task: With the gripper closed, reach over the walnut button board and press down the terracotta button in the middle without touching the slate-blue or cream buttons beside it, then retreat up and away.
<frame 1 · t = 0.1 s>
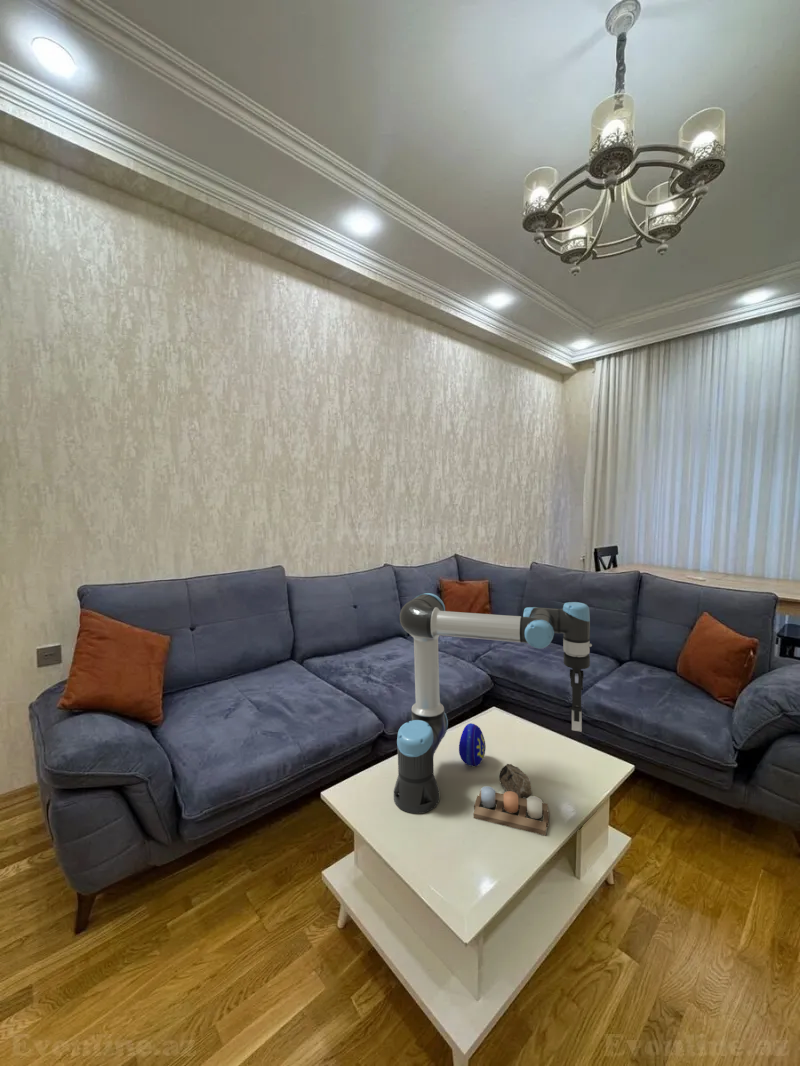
hand: (576, 719, 134), 28 cm above the table, fingers open, 13 cm apart
stone: (514, 791, 143), on the table
button slate: (488, 796, 135), point 4 cm above the table, slide at 0.0 cm
button cream: (534, 807, 130), point 4 cm above the table, slide at 0.0 cm
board: (511, 813, 133), on the table
ornament: (472, 763, 159), on the table
button terracotta: (510, 802, 133), point 4 cm above the table, slide at 0.0 cm
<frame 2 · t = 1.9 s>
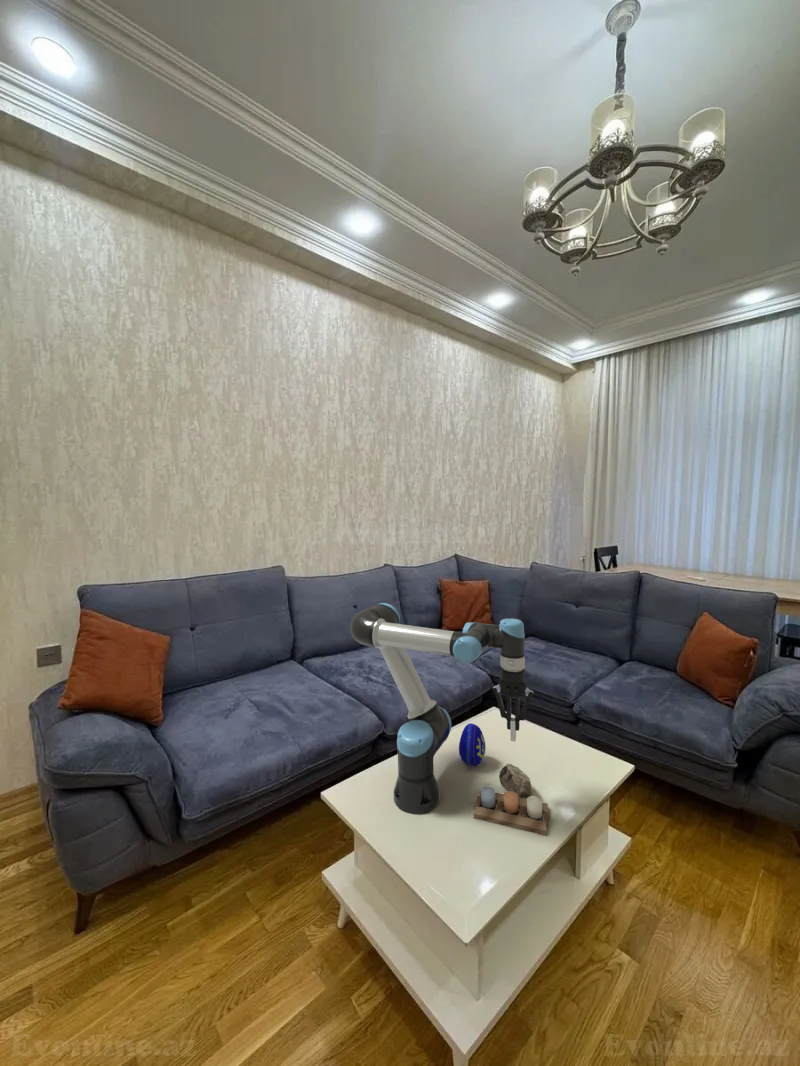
hand: (513, 739, 139), 20 cm above the table, fingers closed
nothing on the table moved.
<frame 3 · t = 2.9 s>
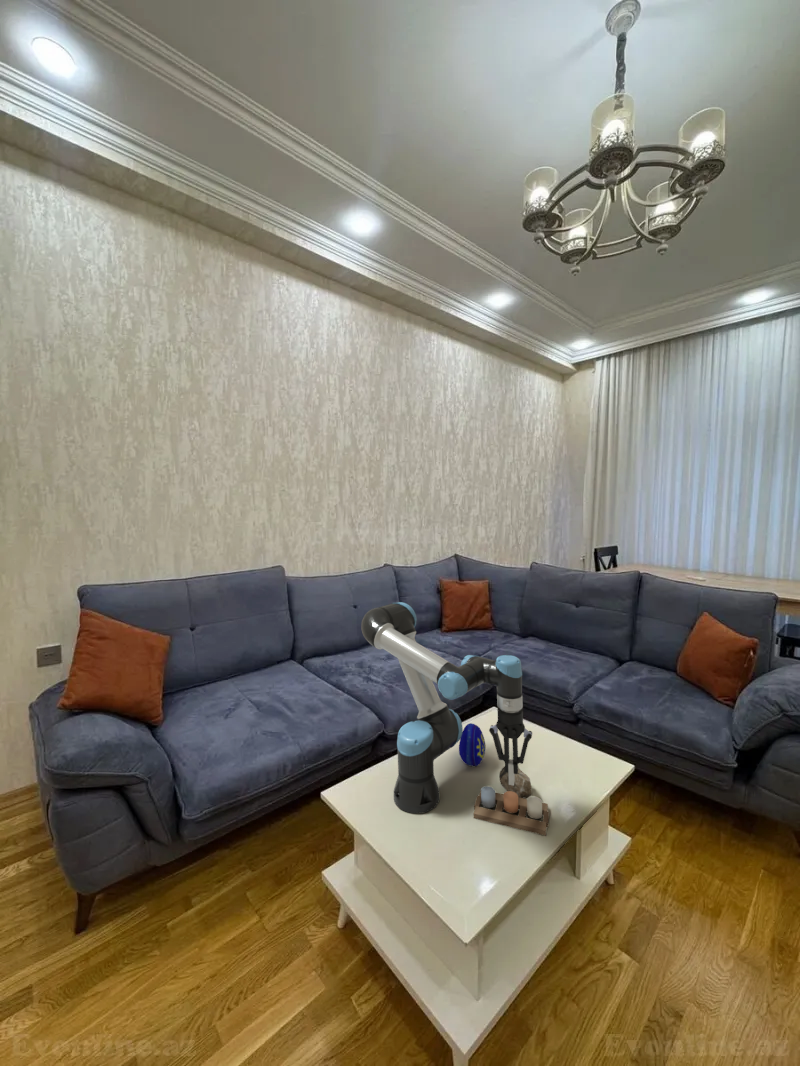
hand: (511, 782, 132), 10 cm above the table, fingers closed
nothing on the table moved.
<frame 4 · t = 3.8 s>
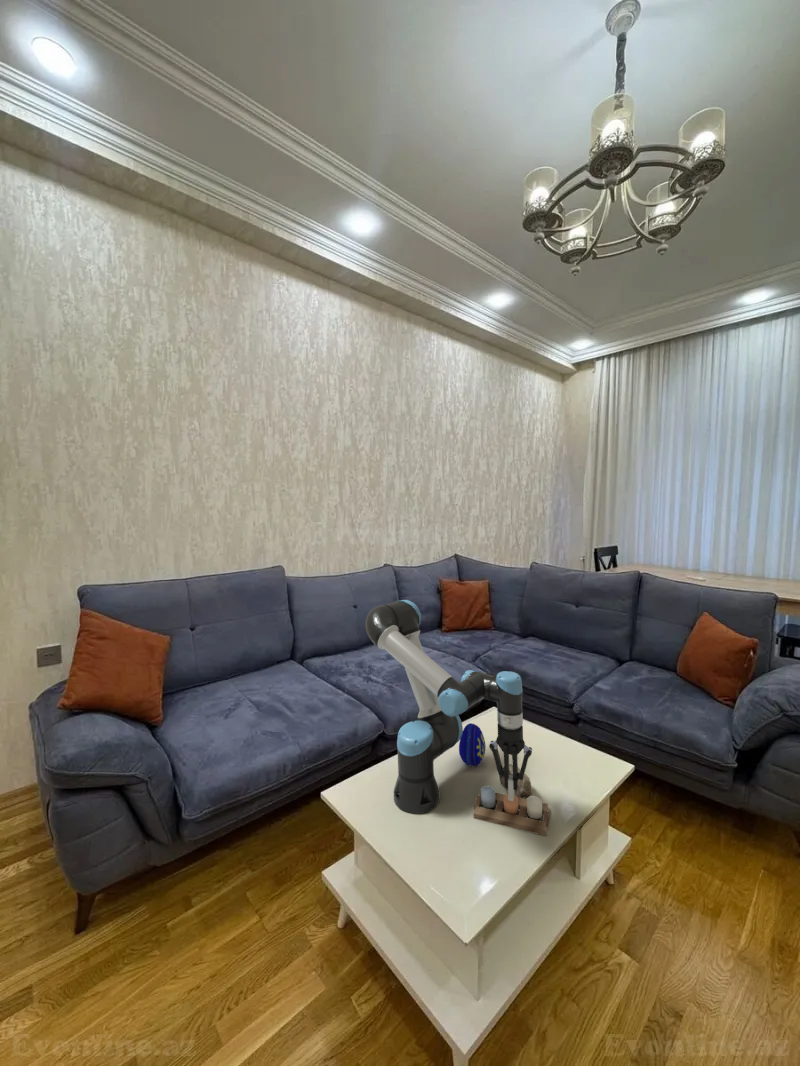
hand: (511, 798, 132), 5 cm above the table, fingers closed
button terracotta: (510, 804, 133), point 3 cm above the table, slide at 0.9 cm, touching gripper
everything else where it was.
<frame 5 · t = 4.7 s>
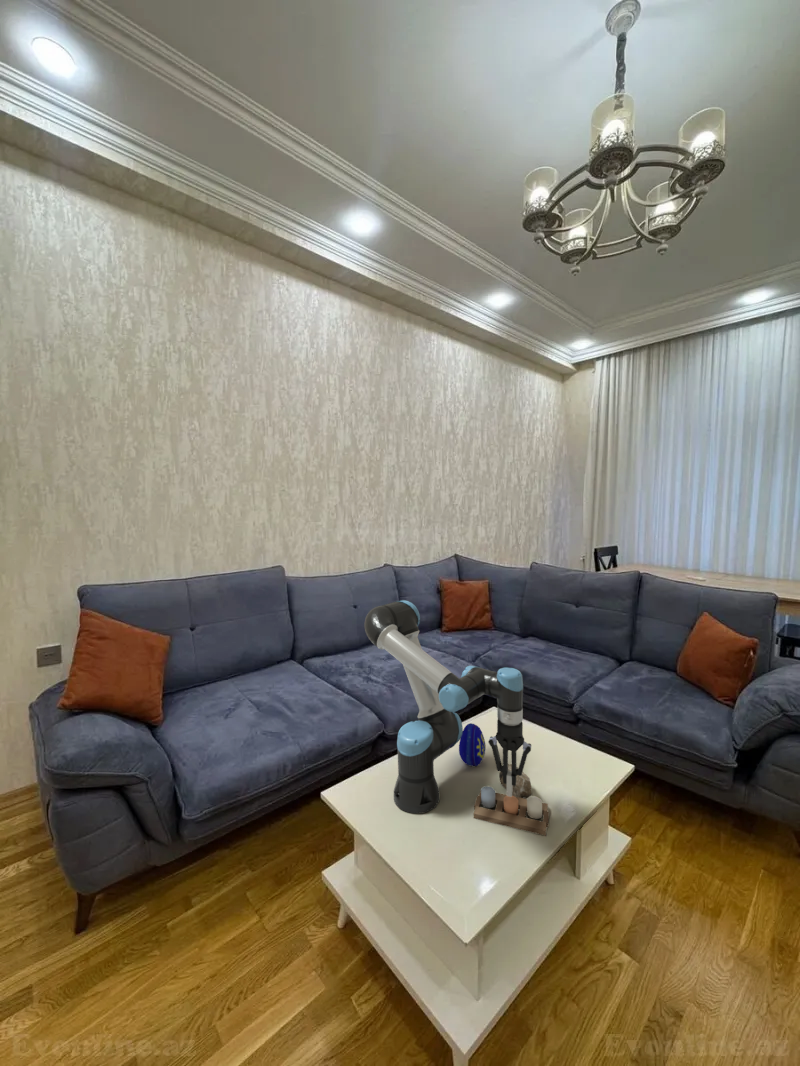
hand: (509, 793, 133), 6 cm above the table, fingers closed
button terracotta: (510, 806, 133), point 2 cm above the table, slide at 1.4 cm
everything else where it was.
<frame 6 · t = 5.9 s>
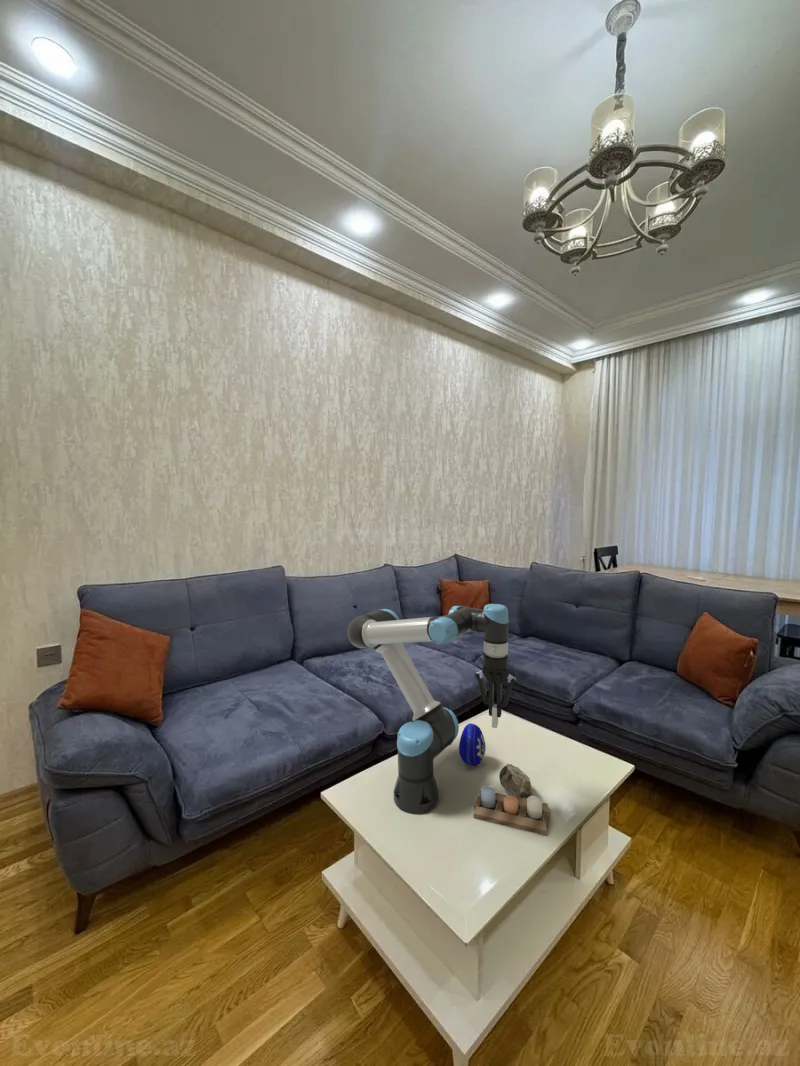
hand: (495, 725, 137), 25 cm above the table, fingers closed
nothing on the table moved.
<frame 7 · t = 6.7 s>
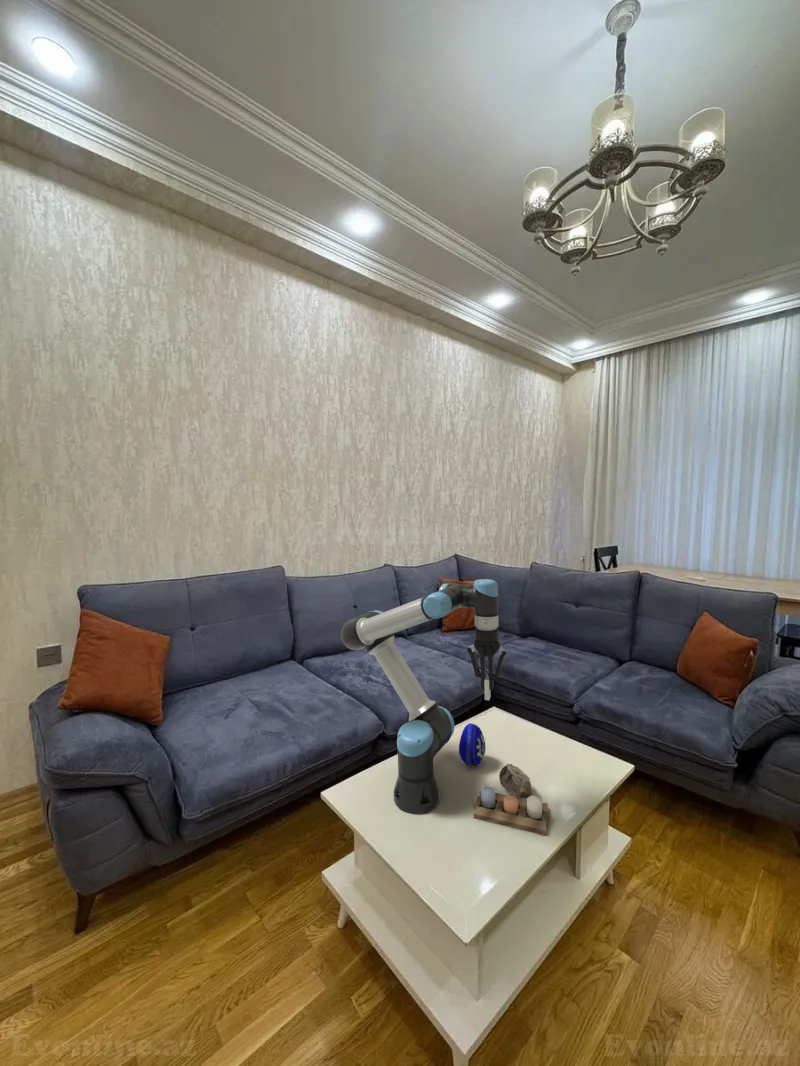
hand: (487, 698, 140), 32 cm above the table, fingers closed
nothing on the table moved.
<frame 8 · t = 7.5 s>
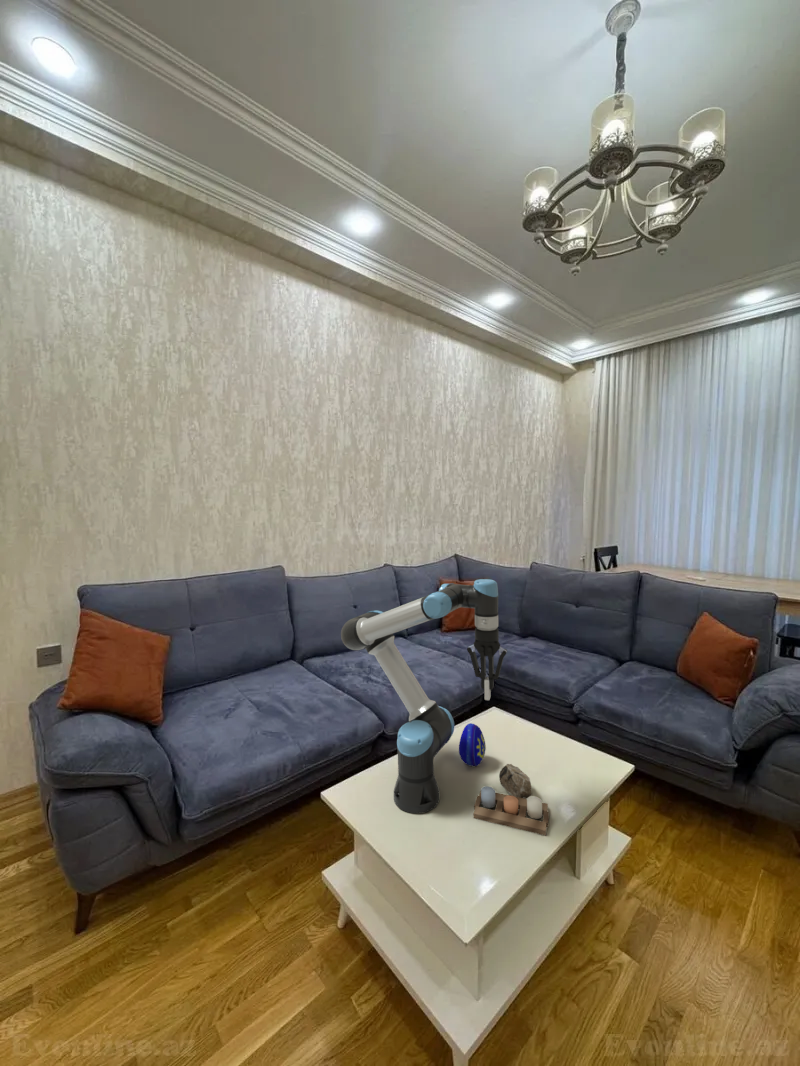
hand: (487, 698, 140), 32 cm above the table, fingers closed
nothing on the table moved.
at the end: button terracotta slide at 1.4 cm; button slate slide at 0.0 cm; button cream slide at 0.0 cm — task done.
